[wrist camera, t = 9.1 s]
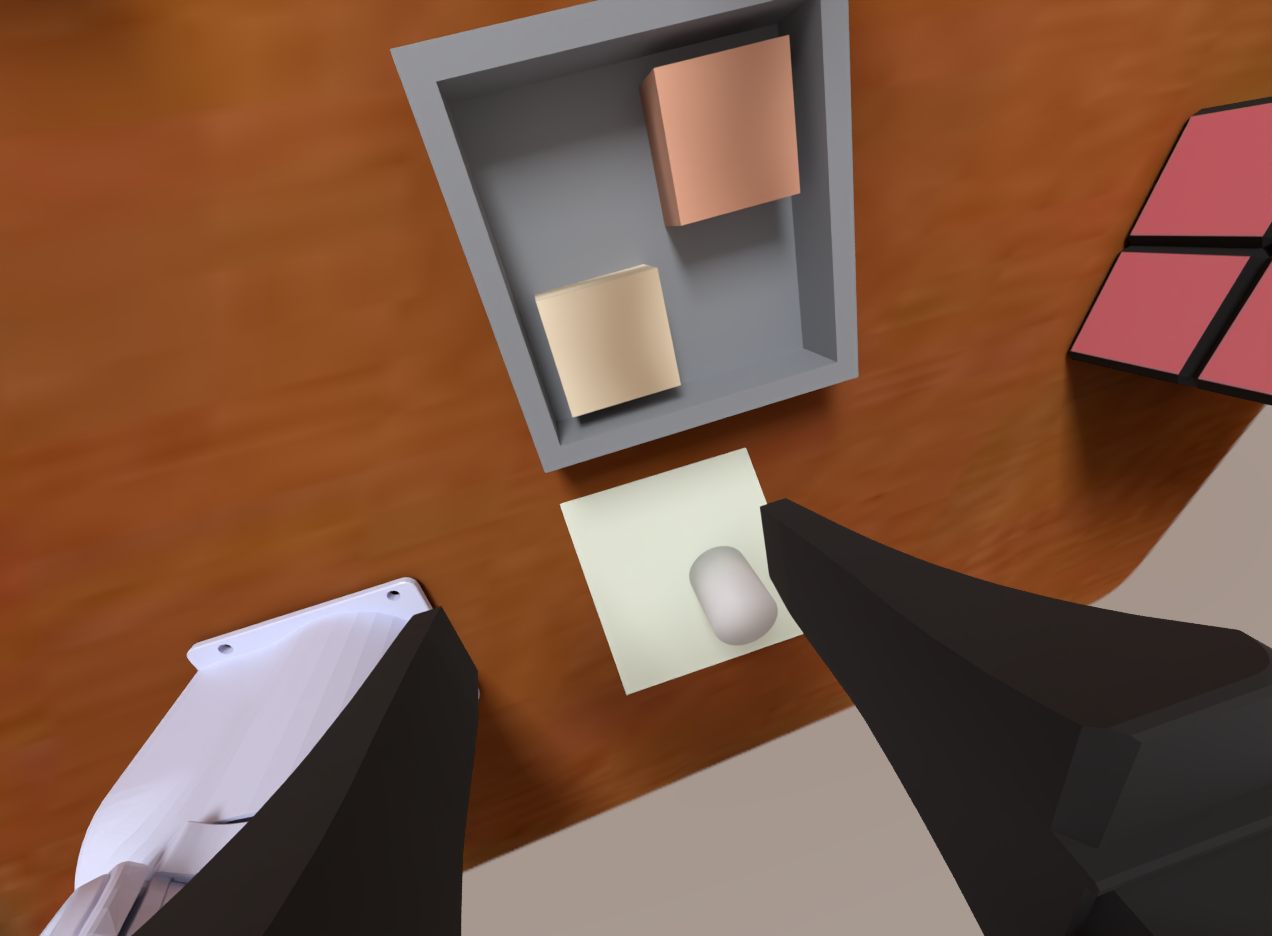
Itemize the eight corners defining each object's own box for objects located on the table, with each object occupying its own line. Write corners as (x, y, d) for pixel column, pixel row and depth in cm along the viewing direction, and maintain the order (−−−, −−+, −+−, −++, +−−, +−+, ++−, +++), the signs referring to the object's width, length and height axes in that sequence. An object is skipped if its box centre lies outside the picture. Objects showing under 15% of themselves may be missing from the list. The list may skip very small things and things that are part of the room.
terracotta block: (664, 226, 17) (681, 225, 16) (638, 86, 15) (653, 68, 14) (772, 197, 18) (800, 193, 16) (759, 56, 16) (789, 34, 14)
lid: (624, 686, 28) (640, 753, 24) (558, 498, 22) (566, 550, 19) (831, 615, 29) (876, 669, 25) (820, 417, 23) (876, 452, 20)
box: (542, 441, 20) (545, 473, 18) (413, 82, 15) (389, 49, 12) (816, 358, 21) (858, 377, 19) (791, -9, 16) (846, -58, 13)
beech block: (568, 400, 19) (572, 417, 17) (534, 294, 17) (535, 301, 16) (666, 371, 20) (681, 385, 18) (643, 264, 18) (657, 267, 16)
